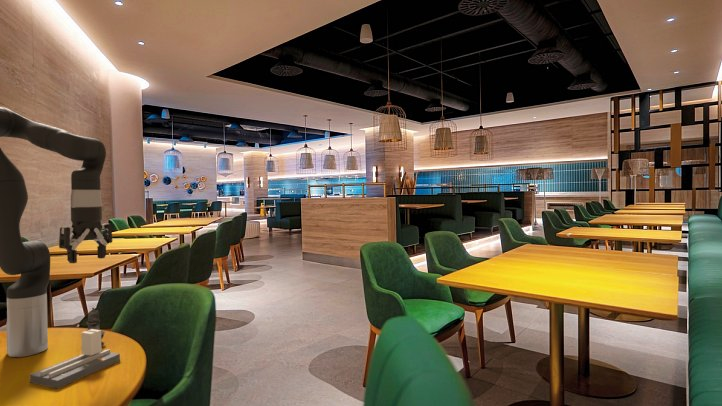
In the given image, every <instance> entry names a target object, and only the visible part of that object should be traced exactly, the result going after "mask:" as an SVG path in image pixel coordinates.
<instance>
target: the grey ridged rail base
mask: <svg viewBox="0 0 722 406" xmlns="http://www.w3.org/2000/svg"><path fill="white" fill-rule="evenodd" d="M120 355H121V354H120V353H116V352H113V351H111V349H110V348H109V349H105V350H103V348H102V347H101V352H99V353H97V354H95V355H93V356H90V357H88V358H84V354H82V353H81V354H78V355H76V356H74V357H71V358H68V359H66V360H63V361H61V362H58V363H55V364H54V365H51V366H48V367H46V368H44V369H41V370H38V371H35V372H33V373H30V374H29V383H30V384H37V385H39V386H44V387H49V388H54V389H58V390H59V389H60V388H62V387H65V386H66V385H68V384H72V383H73V381H74V382H75V380H76V381H78V380H80V379H82V378H84V376H85V377H87V376H88V375H92V374H93V373H97V372H98V371H100V370H103V369H105V368H106V367H109V366H111V365H113V364H116V363H118V362H119V361H121V356H120ZM86 375H87V376H86ZM81 377H82V378H81ZM79 378H80V379H79ZM77 379H78V380H77Z"/></svg>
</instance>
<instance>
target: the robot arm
mask: <svg viewBox="0 0 722 406" xmlns="http://www.w3.org/2000/svg"><path fill="white" fill-rule="evenodd" d="M0 138H12V139H13V138H15V139H21V140H25V141H28V142H29V143H31V144H32V145H33V146H36V147H38V148H41V149H42V150H43V149H44V150H46V151H50V152H53V153H56V154H59V155H61V156H62V157H64V158H68V159H70V160H74V161H77V162H78V161H79V162H82V165H81V167H80V168H79V169H74V170H73V171H72V172H71V175H70V179H71V180H70V182H71V184H70V185H71V186H70V187H71V190H70V191H71V193H70V199H69V200H70V221H71V226H70V227H69V226H61V227H59V236H58V237H59V239H58V240H59V241H58V248H59V249H63V250H66V253H67V254H66V255H67V259H66V260H67V261H68V262H69V264H77V262H78V251H77V248H78V246H79V245H80V244H81V243H82V242H83V241H89V240H90V241H91V240H92V241H94V242H95V243H96V244H97V247H96V249H97V251H96V252H97V258H98V259H105V258H106V256H107V245H109V244H111V243H113V231H112V228H113V227H112V224H111V223H102V222H101V221H102V220H103V204H102V203H103V201H102V200H103V199H102V193H101V189H102V188H101V174H102V172H103V169H104V165H105V162H106V157H107V149H106V146H105V144H104V143H103V142H102V141H101V140H100V139H97V138H94V137H90V136H89V137H88V136H82V135H77V134H72V133H71V132H70V131H67V130H66V129H62V128H58V127H55V126H51V125H48V124H45V123H42V122H41V123H40V122H36V121H34V120H31V119H29V118H27V117H26V116H25V117H24V116H23V115H21V114H19V113H17V112H15V111H13V110H11V109H9V108H7V107H4V106H0ZM27 190H28V189H27V185H26V182H25V178H24V175H23V174H22V173H21V171H20V170H19V168H18V167H17V166H16V165H15V163H13V162H12V160H11V159H10V158H9V157H8V156H7V155H6V153H4V150H3V149H2V148H1V147H0V269H1V271H2V272H3V273H5V274H6V275H9V276H18V275H20V276H19V277H18V279H17V280H16V281H15V282H14V283H12V284H11V285H10V286H8V287H7V288H6V309H7V310H6V317H7V318H6V319H7V321H6V323H5V326H6V327H5V328H6V329H5V330H6V354H7V356H8V357H10V358H21V357H23V358H24V357H29V356H33V355H36V354H40V353H43V352H44V351H46V350H48V347H49V341H48V337H49V335H48V333H49V332H48V328H49V327H48V294H47V293H48V290H47V289H48V285H49V283H50V280H51V253H50V249H49V247H48V246H47V244H46V243H44V242H43V241H40V240H29V241H23V240H22V236H21V230H20V225H21V219H22V217H23V214H24V212H25V209H26V207H27V204H28V200H29V194H28V191H27ZM101 231H102V233H101ZM71 234H72V236H71Z"/></svg>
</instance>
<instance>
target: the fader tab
mask: <svg viewBox="0 0 722 406" xmlns="http://www.w3.org/2000/svg"><path fill="white" fill-rule="evenodd" d="M101 331H102V330H101V329H100V330H96V329H90V330H88V329H86V330H84V331H82V332H81V334H80V335H81V336H80V337H81V338H80V339H81V354H84V358H88V357H90V356H93V355H95V354H97V353H99V352H101V348H102V346H101V341H102V340H101Z"/></svg>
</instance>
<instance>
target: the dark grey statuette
mask: <svg viewBox="0 0 722 406" xmlns="http://www.w3.org/2000/svg"><path fill="white" fill-rule="evenodd" d="M99 315H100V313H99V311H98V310H96V309H95V307H92V308H91V310H90V311H89V312H88V313H87V322H86V324H87V330H90V329H96V330H101V328H100V322H101V320H100V316H99ZM105 334H106V332H105V331H104V330H101V347H102V346H103V345H104V344H105V342H103V341H102V339H103V338H104V336H105Z"/></svg>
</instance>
